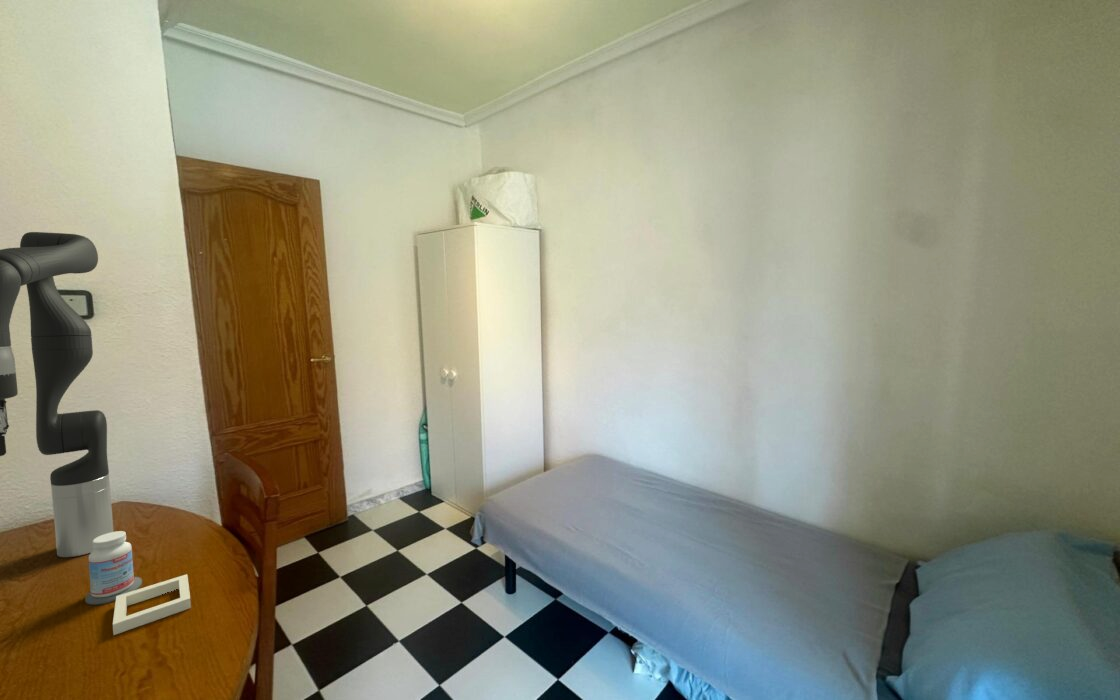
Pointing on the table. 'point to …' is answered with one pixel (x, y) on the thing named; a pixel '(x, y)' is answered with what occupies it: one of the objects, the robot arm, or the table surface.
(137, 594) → the holder
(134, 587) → the coaster
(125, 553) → the pill bottle
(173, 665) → the table surface
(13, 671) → the table surface
